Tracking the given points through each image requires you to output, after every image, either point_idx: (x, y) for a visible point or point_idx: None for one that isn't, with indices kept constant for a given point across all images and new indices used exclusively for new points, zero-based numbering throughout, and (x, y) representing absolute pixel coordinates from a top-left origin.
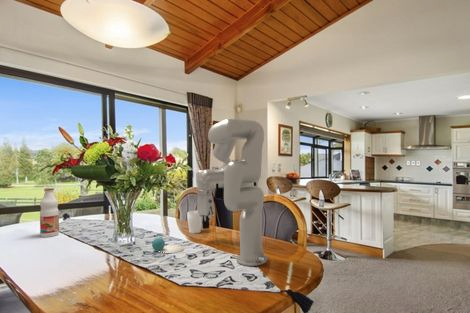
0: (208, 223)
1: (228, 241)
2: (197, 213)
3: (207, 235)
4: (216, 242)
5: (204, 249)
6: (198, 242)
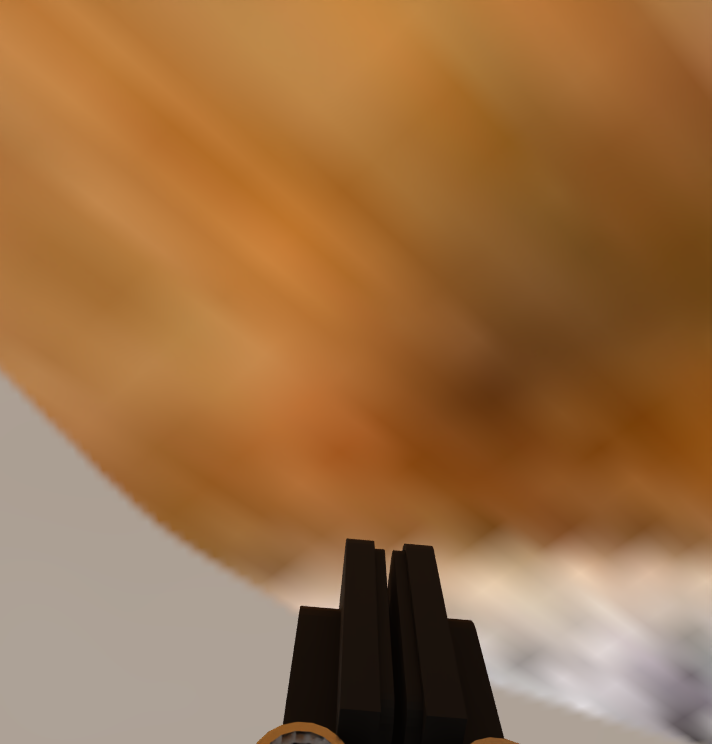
0: (488, 693)
1: (692, 187)
2: None
3: (28, 177)
4: (547, 377)
5: (635, 683)
6: (308, 563)
